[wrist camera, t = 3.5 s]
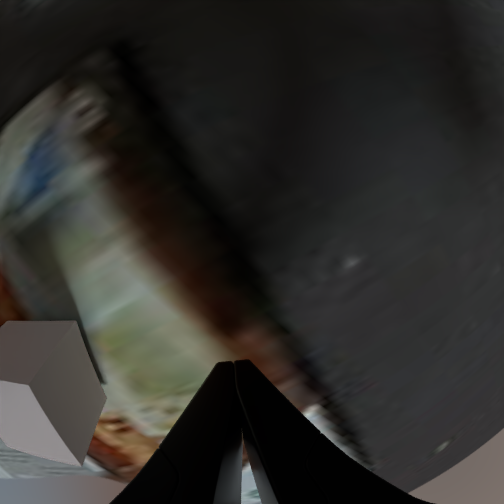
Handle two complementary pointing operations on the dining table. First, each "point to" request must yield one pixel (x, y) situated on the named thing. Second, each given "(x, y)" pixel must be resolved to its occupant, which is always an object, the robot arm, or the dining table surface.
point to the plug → (48, 390)
